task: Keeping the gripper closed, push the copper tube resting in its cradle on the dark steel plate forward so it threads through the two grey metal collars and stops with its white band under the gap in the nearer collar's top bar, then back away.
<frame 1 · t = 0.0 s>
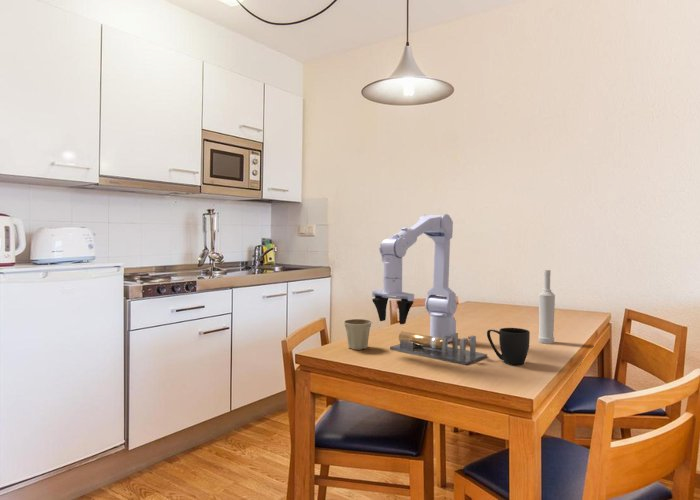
hand: (392, 322, 142), 10 cm above the table, fingers open, 7 cm apart
flower pot: (357, 348, 152), on the table
copper tube: (422, 340, 149), point 3 cm above the table, slide at 0.0 cm
firebox plate: (437, 352, 146), on the table
mug: (507, 362, 135), on the table
bottle: (546, 342, 161), on the table
collar 1: (449, 355, 142), resting on firebox plate
collar 2: (467, 359, 138), resting on firebox plate
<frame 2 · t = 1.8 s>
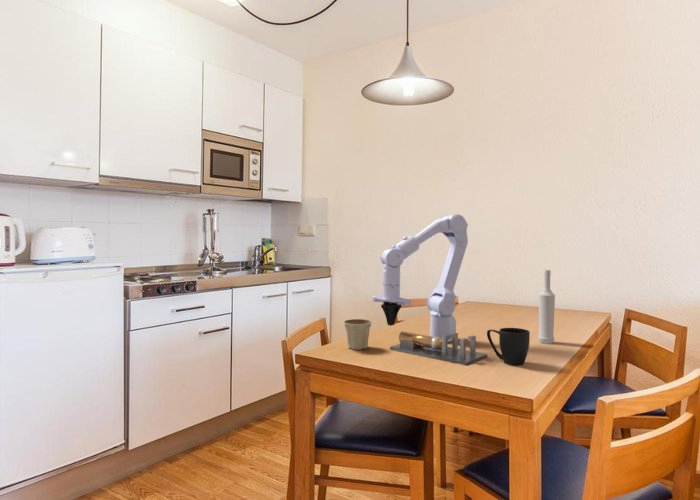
hand: (390, 325, 157), 6 cm above the table, fingers closed
nothing on the table moved.
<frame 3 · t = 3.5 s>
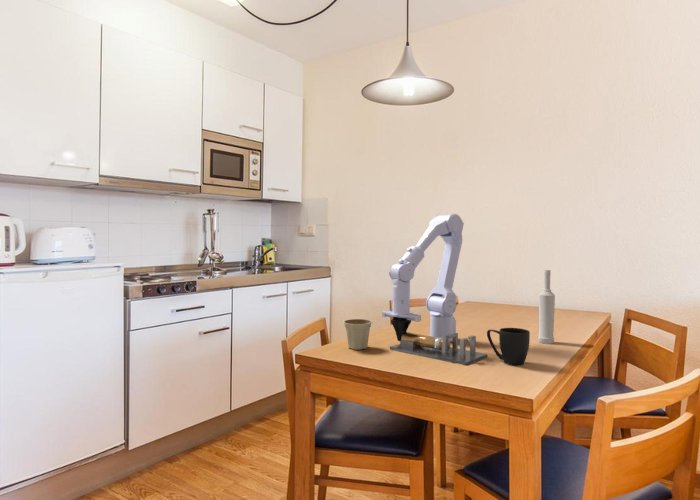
hand: (400, 340, 155), 2 cm above the table, fingers closed
copper tube: (425, 341, 148), point 3 cm above the table, slide at 1.1 cm, touching gripper
everything else where it was.
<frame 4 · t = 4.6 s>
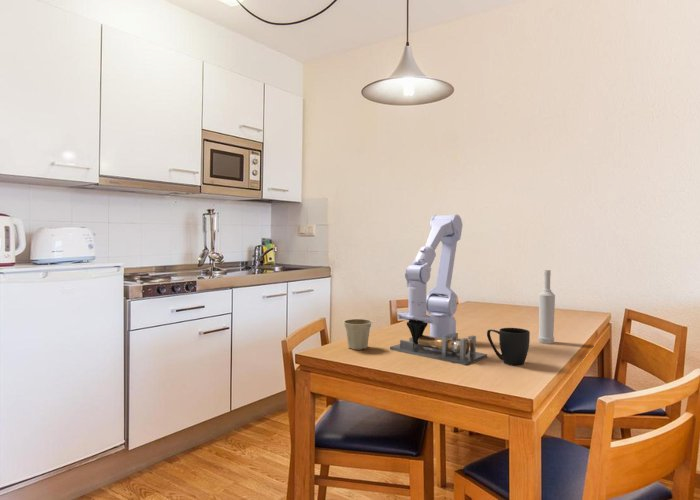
hand: (416, 343, 151), 2 cm above the table, fingers closed
copper tube: (442, 344, 144), point 3 cm above the table, slide at 7.5 cm, touching gripper
everything else where it was.
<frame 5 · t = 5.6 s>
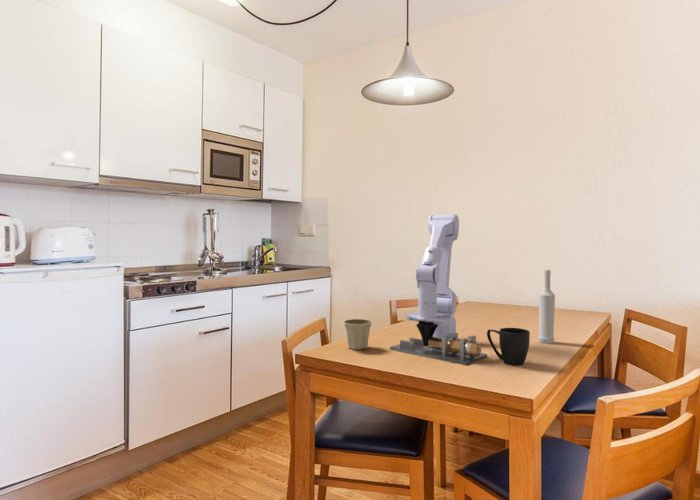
hand: (427, 345, 148), 2 cm above the table, fingers closed
copper tube: (453, 346, 142), point 3 cm above the table, slide at 11.3 cm, touching gripper
everything else where it was.
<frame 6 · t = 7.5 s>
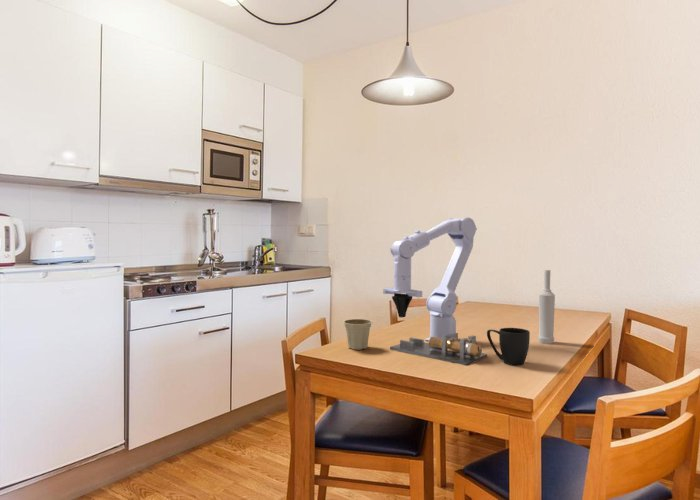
hand: (402, 316, 156), 9 cm above the table, fingers closed
copper tube: (454, 346, 141), point 3 cm above the table, slide at 11.5 cm
everything else where it was.
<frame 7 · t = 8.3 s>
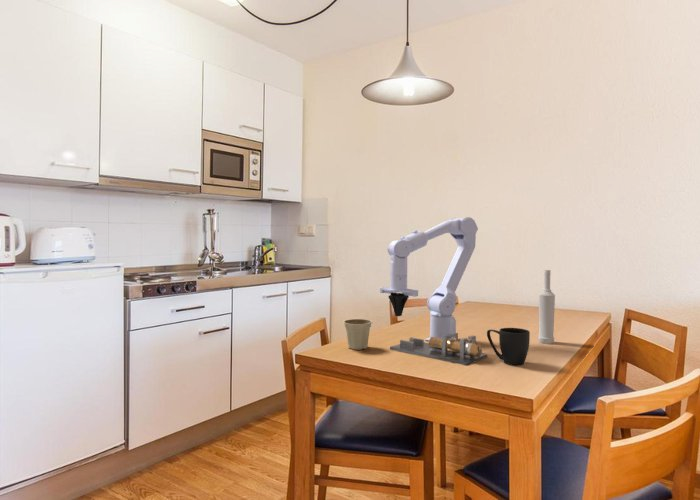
hand: (398, 315, 158), 9 cm above the table, fingers closed
nothing on the table moved.
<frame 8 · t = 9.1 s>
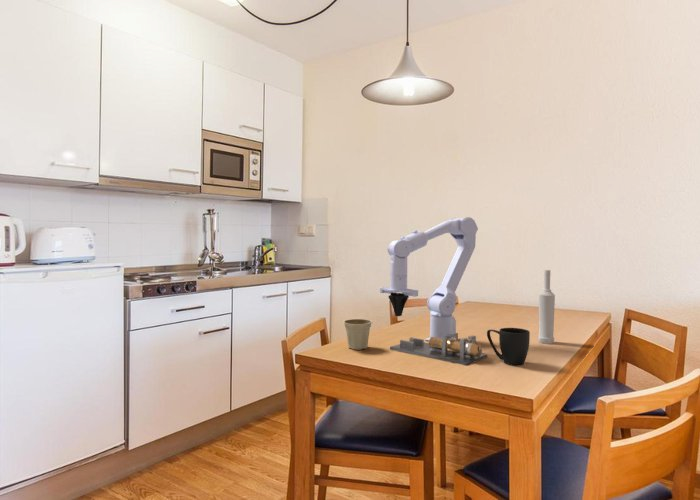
hand: (398, 315, 158), 9 cm above the table, fingers closed
nothing on the table moved.
at the end: copper tube slide at 11.5 cm; copper tube 0.5 cm from the target spot, resting on firebox plate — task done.
